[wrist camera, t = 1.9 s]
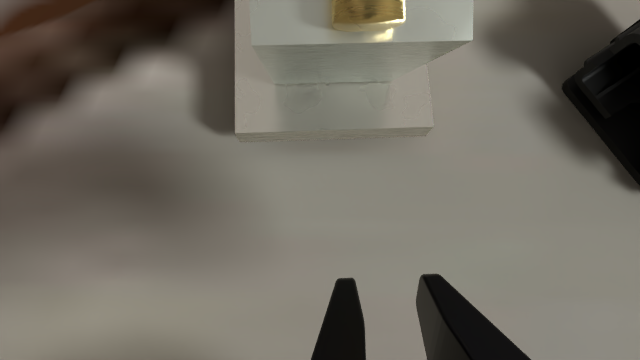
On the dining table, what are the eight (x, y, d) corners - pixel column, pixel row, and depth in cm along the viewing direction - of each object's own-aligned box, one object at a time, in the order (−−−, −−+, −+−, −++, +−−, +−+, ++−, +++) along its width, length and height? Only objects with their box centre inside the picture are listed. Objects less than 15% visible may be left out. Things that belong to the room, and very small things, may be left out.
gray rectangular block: (418, 144, 24) (434, 126, 21) (243, 150, 23) (234, 133, 20) (402, -8, 26) (414, -43, 23) (242, -5, 25) (234, -41, 22)
